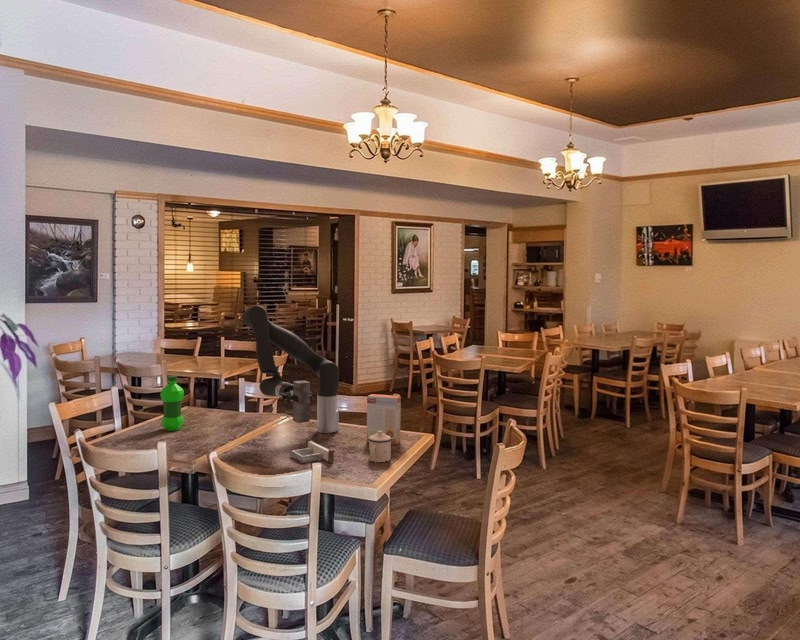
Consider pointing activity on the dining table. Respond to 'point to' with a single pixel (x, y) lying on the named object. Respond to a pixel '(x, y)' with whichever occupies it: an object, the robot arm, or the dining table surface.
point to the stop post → (301, 401)
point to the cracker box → (384, 416)
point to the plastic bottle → (172, 404)
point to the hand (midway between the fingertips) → (304, 399)
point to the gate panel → (319, 450)
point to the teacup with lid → (379, 447)
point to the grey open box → (309, 454)
